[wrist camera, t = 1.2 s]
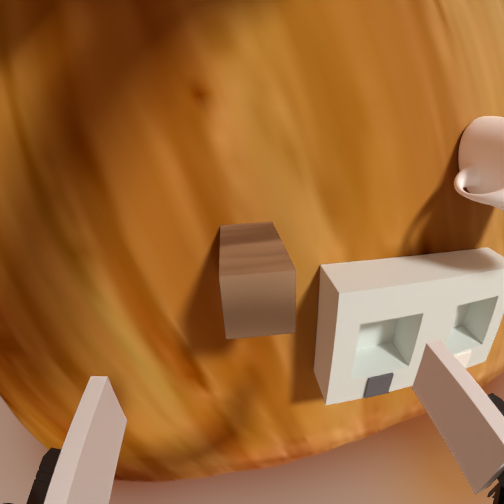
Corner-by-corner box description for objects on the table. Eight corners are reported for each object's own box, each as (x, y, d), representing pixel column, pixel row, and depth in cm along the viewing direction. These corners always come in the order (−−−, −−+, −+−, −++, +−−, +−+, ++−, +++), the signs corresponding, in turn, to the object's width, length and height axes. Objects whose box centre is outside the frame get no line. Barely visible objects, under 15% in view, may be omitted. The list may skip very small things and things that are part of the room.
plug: (220, 225, 25) (219, 276, 17) (271, 221, 25) (296, 270, 17) (224, 272, 26) (226, 339, 18) (273, 268, 27) (295, 332, 18)
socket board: (320, 264, 27) (340, 295, 22) (487, 247, 28) (519, 266, 23) (313, 370, 31) (326, 407, 26) (463, 337, 32) (486, 362, 28)
